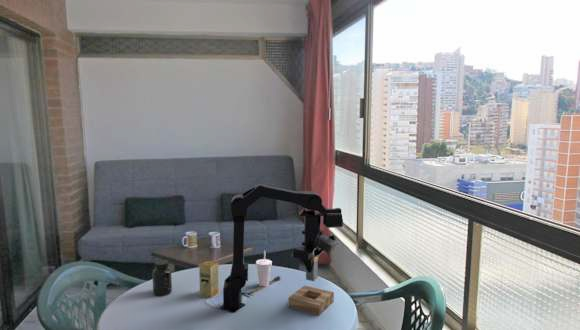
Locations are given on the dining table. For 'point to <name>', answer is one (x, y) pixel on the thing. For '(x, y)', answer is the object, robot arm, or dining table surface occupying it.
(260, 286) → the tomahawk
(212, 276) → the shoe polish box
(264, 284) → the smoothie
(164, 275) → the supplement bottle
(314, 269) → the orange and grey peg
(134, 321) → the dining table surface
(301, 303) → the block
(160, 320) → the dining table surface
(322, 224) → the robot arm
